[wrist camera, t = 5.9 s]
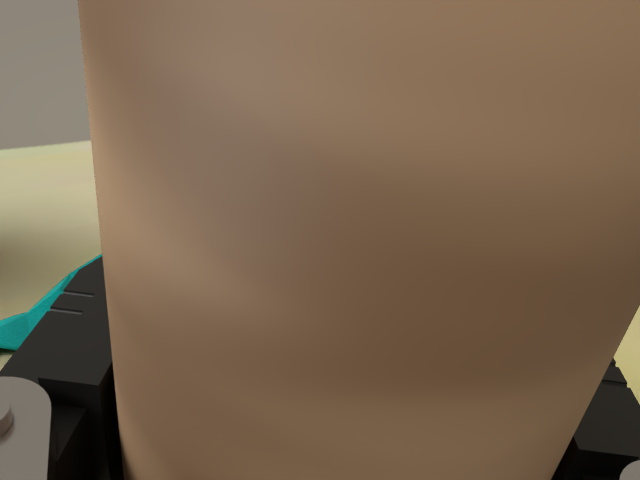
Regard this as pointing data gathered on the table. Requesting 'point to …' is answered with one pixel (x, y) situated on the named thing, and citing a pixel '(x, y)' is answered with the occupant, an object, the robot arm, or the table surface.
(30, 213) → the table surface
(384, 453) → the canister
